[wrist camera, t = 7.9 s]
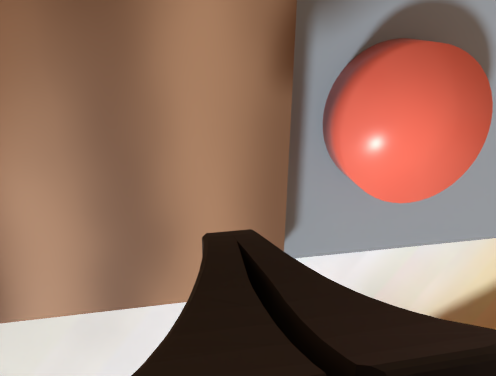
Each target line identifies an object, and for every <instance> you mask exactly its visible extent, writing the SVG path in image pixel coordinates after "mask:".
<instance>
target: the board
mask: <svg viewBox="0 0 496 376" xmlns="http://www.w3.org/2000/svg"><path fill="white" fill-rule="evenodd" d="M296 10H297V0H0V323H8V322H16V321H25V320H34V319H42V318H51V317H60V316H68V315H77V314H86V313H94V312H103V311H112V310H120V309H129V308H138V307H146V306H155V305H164V304H172V303H181V302H187V301H188V299H189V296H190V294H191V292H192V289H193V287H194V284H195V281H196V279H197V276H198V273H199V269H200V265H201V261H202V237H203V236H204V235H205V234H206V233H214V232H225V231H237V230H248V229H252V230H254V231H255V232H257V233H258V234H260V235H261V236H263V237H264V238H265V239H267V240H268V241H270V242H271V243H272V244H274V245H275V246H277V247H278V248H279V249H281V250H282V251H284V241H285V221H286V202H287V183H288V164H289V145H290V125H291V106H292V87H293V68H294V48H295V29H296Z"/></svg>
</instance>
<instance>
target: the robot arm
mask: <svg viewBox="0 0 496 376" xmlns="http://www.w3.org/2000/svg"><path fill="white" fill-rule="evenodd" d="M132 376H496V330H494V329H489V328H484V327H479V326H473V325H468V324H463V323H458V322H452V321H447V320H443V319H438V318H435V317H431V316H427V315H423V314H419V313H416V312H412V311H409V310H405V309H402V308H399V307H396V306H393V305H390V304H387V303H384V302H381V301H379V300H376V299H373V298H370V297H368V296H365V295H363V294H360V293H358V292H355V291H353V290H351V289H349V288H347V287H345V286H342V285H340V284H338V283H336V282H334V281H332V280H330V279H328V278H326V277H324V276H322V275H321V274H319V273H317V272H316V271H314V270H312V269H310V268H309V267H307V266H305V265H304V264H302V263H300V262H299V261H297V260H296V259H294V258H293V257H291V256H290V255H288V254H287V253H285V252H284V251H282V250H281V249H279V248H278V247H277V246H275V245H274V244H272V243H271V242H270V241H268V240H267V239H265V238H264V237H263V236H261V235H260V234H258V233H257V232H255V231H254V230H252V229H248V230H237V231H225V232H214V233H206V234H205V235H204V236H203V237H202V261H201V265H200V269H199V273H198V276H197V279H196V281H195V284H194V287H193V289H192V292H191V294H190V296H189V299H188V301H187V303H186V305H185V307H184V308H183V310H182V312H181V314H180V316H179V317H178V319H177V320H176V322H175V324H174V325H173V327H172V328H171V330H170V331H169V333H168V334H167V336H166V337H165V338H164V340H163V341H162V342H161V343H160V345H159V346H158V347H157V348H156V350H155V351H154V352H153V353H152V354H151V356H150V357H149V358H148V359H147V360H146V362H145V363H144V364H143V365H142V366H141V367H140V368H139V369H138V370H137V371H136V372H135V373H134V374H133V375H132Z"/></svg>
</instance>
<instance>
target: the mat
mask: <svg viewBox="0 0 496 376" xmlns="http://www.w3.org/2000/svg"><path fill="white" fill-rule="evenodd" d="M399 38H410V39H418V40H426V41H433V42H440V43H446V44H450V45H453V46H456V47H459V48H460V49H462V50H464V51H466V52H467V53H469V54H470V55H471V56H472V57H473V58H474V59H475V60H476V61H477V62H478V63H479V64H480V65H481V67H482V69H483V70H484V72H485V74H486V76H487V78H488V81H489V84H490V88H491V92H492V100H493V112H492V119H491V124H490V129H489V132H488V135H487V138H486V141H485V143H484V145H483V147H482V149H481V151H480V153H479V154H478V156H477V158H476V159H475V161H474V162H473V164H472V165H471V166H470V167H469V169H468V170H467V171H466V172H465V173H464V174H463V175H462V176H461V177H460V178H459V179H458V180H457V181H456V182H455V183H453V184H452V185H451V186H449V187H448V188H446V189H445V190H443V191H441V192H440V193H438V194H436V195H434V196H432V197H429V198H427V199H424V200H420V201H416V202H411V203H391V202H387V201H382V200H380V199H377V198H375V197H373V196H371V195H369V194H368V193H366V192H365V191H364V190H362V189H361V188H360V187H359V186H358V185H357V184H355V183H354V182H353V181H352V180H351V179H350V178H349V177H347V176H346V175H345V174H344V173H343V172H342V171H341V170H340V169H339V168H338V167H337V166H336V165H335V163H334V162H333V160H332V159H331V157H330V155H329V153H328V151H327V148H326V145H325V142H324V136H323V113H324V108H325V104H326V100H327V98H328V95H329V92H330V90H331V88H332V86H333V84H334V82H335V81H336V79H337V77H338V76H339V74H340V73H341V72H342V70H343V69H344V68H345V67H346V66H347V65H348V64H349V63H350V62H351V61H352V60H353V59H354V58H355V57H356V56H357V55H359V54H360V53H361V52H363V51H364V50H366V49H368V48H370V47H371V46H373V45H376V44H378V43H380V42H384V41H387V40H391V39H399ZM490 238H496V0H297V10H296V29H295V48H294V68H293V87H292V106H291V125H290V145H289V164H288V183H287V202H286V221H285V241H284V252H285V253H287V254H288V255H290V256H291V257H293V258H302V257H312V256H322V255H331V254H341V253H351V252H361V251H371V250H381V249H391V248H401V247H411V246H421V245H431V244H440V243H450V242H460V241H470V240H480V239H490Z"/></svg>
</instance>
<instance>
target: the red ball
mask: <svg viewBox="0 0 496 376" xmlns="http://www.w3.org/2000/svg"><path fill="white" fill-rule="evenodd" d="M492 112H493V100H492V92H491V88H490V84H489V81H488V78H487V76H486V74H485V72H484V70H483V69H482V67H481V65H480V64H479V63H478V62H477V61H476V60H475V59H474V58H473V57H472V56H471V55H470V54H469V53H467V52H466V51H464V50H462V49H460V48H459V47H456V46H453V45H450V44H446V43H440V42H433V41H426V40H418V39H410V38H399V39H391V40H387V41H384V42H380V43H378V44H376V45H373V46H371V47H370V48H368V49H366V50H364V51H363V52H361V53H360V54H359V55H357V56H356V57H355V58H354V59H353V60H352V61H351V62H350V63H349V64H348V65H347V66H346V67H345V68H344V69H343V70H342V72H341V73H340V74H339V76H338V77H337V79H336V81H335V82H334V84H333V86H332V88H331V90H330V92H329V95H328V98H327V100H326V104H325V108H324V113H323V136H324V142H325V145H326V148H327V151H328V153H329V155H330V157H331V159H332V160H333V162H334V163H335V165H336V166H337V167H338V168H339V169H340V170H341V171H342V172H343V173H344V174H345V175H346V176H347V177H349V178H350V179H351V180H352V181H353V182H354V183H355V184H357V185H358V186H359V187H360V188H361V189H362V190H364V191H365V192H366V193H368V194H369V195H371V196H373V197H375V198H377V199H380V200H382V201H387V202H391V203H411V202H416V201H420V200H424V199H427V198H429V197H432V196H434V195H436V194H438V193H440V192H441V191H443V190H445V189H446V188H448V187H449V186H451V185H452V184H453V183H455V182H456V181H457V180H458V179H459V178H460V177H461V176H462V175H463V174H464V173H465V172H466V171H467V170H468V169H469V167H470V166H471V165H472V164H473V162H474V161H475V159H476V158H477V156H478V154H479V153H480V151H481V149H482V147H483V145H484V143H485V141H486V138H487V135H488V132H489V129H490V124H491V119H492Z"/></svg>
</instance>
